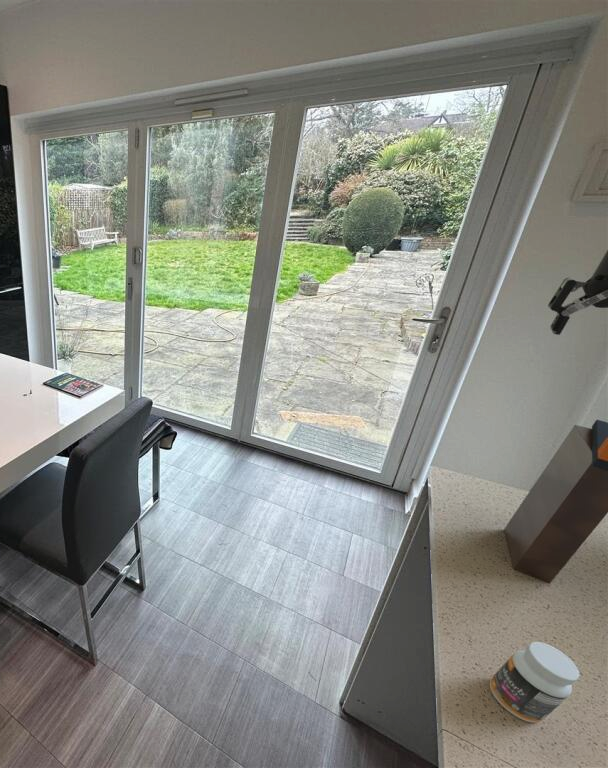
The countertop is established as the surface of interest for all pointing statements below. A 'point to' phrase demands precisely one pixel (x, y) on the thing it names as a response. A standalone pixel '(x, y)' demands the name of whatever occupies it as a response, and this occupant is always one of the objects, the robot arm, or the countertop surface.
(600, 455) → the back pad
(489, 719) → the countertop surface
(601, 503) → the walnut stand
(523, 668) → the pill bottle
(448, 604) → the countertop surface
